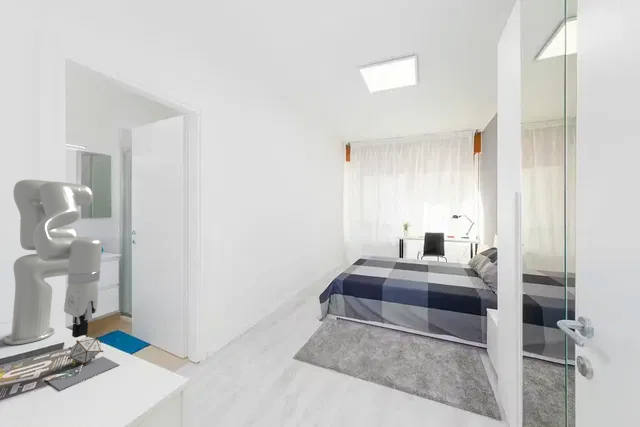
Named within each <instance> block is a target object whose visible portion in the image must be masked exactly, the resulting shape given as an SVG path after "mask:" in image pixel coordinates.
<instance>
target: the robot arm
mask: <svg viewBox="0 0 640 427" xmlns="http://www.w3.org/2000/svg"><path fill="white" fill-rule="evenodd" d="M12 193H13V199H14V203H15V205H16V207H17V209H18V212H19V216H20V222H19V223H20V225H19V227H20V228H19V240H20V246H21V248H22V249H23V250H26V251H35V252H36V253H30V254H26V255H22V256H20V257H18V258H16V259H15V261H14V263H13V267H12V268H13V274H14V283H15V285H14V288H15V290H14V300H13V301H14V302H13V310H12V311H13V314H12V325H11V334H9V335H8V336H6V337H4V341H3V342H4V344H5V345H10V346H11V345H22V344H29V343H33V342H37V341H41V340H44V339H46V338H49V337H51V336H52V335H54V334H55V328H53V327H50V323H51V322H50V321H51V311H52V300H53V299H52V298H53V287H52V285H50V284H49V282H47V281H45V279H47V278H53V277H64V276H67V284H68V285H67V288H66V292H65V298H64V299H65V300H64V308H63V312H64V313H66V314H68V315H70V316H72V333H71V336H72V337H73V338H75V339H76V338H79V337H82V336H86V335H88V331H89V329H88V328H89V322H90V320H92V319H93V314H95V313H96V312H97V309H98V304H99V301H98V300H99V299H98V298H99V293H98V292H99V287H98V282H100V279H101V278H100V277H101V276H100V275H101V264H102V263H101V262H102V253H103V252H102V250H103V242H102V240H100V239H97V238H93V237H90V236H89V237H88V236H79V234H78V232H77V230H76V229H75V228H74V227H72V226H69V225H71V224H73V223H75V222H76V221H78V220H79V219H80V218H81V212H80V209H79V207H86V206H89V205H91V204H92V203H93V199H94V194H93V192H92V189H91V188H90V187H89V186H87V185H85V184H80V183H79V184H77V183H73V182H72V183H71V182H70V183H69V182H62V181H49V180H40V179H22V180H19V181H17V182H16V183H15V184H14V187H13V191H12Z"/></svg>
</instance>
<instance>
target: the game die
mask: <svg viewBox="0 0 640 427" xmlns="http://www.w3.org/2000/svg"><path fill="white" fill-rule="evenodd" d="M75 342H76V343H75V344H74V345H73V346H72V347H71V346H70V347H68V350H70V357H68V358H67V360H72V361H73V362H75V363H76V362H77V363H82V364H84V366H86V363H87V362H89V361H92V360H93V359H94V358H95V359H96V356H97V355H98V354H100V353H103V352H104V350H103V349H102V348H101V347H102V346H101V344H102V343H103V340H99V336H96V337H92V336H91V337H90V336H89V334H86V335H85V337H84V338H83V339H80V340H76V341H75Z"/></svg>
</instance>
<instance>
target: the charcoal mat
mask: <svg viewBox="0 0 640 427" xmlns="http://www.w3.org/2000/svg"><path fill="white" fill-rule="evenodd" d="M82 364H83V366H82V368H81V371H80V374H77V375H76V376H75V377H74V376H73V377H72V378H67V379H61V380H60V379H59V380H54V381H50V382H49V383H50V384H49V383H48V384H49V385H50V386H52V387H53V388H55V389H56V390H58V391H59V392H61V391H63V390H66V389H68V388H70V387H73V386H75V385H77V384H80V383H82V382H84V381H87V380H88V378H89V379H91V378H94V377H96V376H98V374H99V375H101V374H103V373H105V371H106V372H108V371H110V370H112V368H113V369H114V367H115V368H118V367H119V366H120V364H119V363H117V362H115V361H113V360H111V359H109V358H107V357H106V356H100V357H97V358H95V359H94V358H93V359H91V360H89V361H88V362H87V363H86V366H84V363H82ZM107 370H108V371H107ZM100 373H101V374H100ZM95 375H96V376H95ZM93 376H94V377H93ZM90 377H91V378H90ZM86 379H87V380H86ZM83 380H84V381H83ZM81 381H82V382H81ZM79 382H80V383H79ZM76 383H77V384H76ZM74 384H75V385H74ZM72 385H73V386H72Z"/></svg>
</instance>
